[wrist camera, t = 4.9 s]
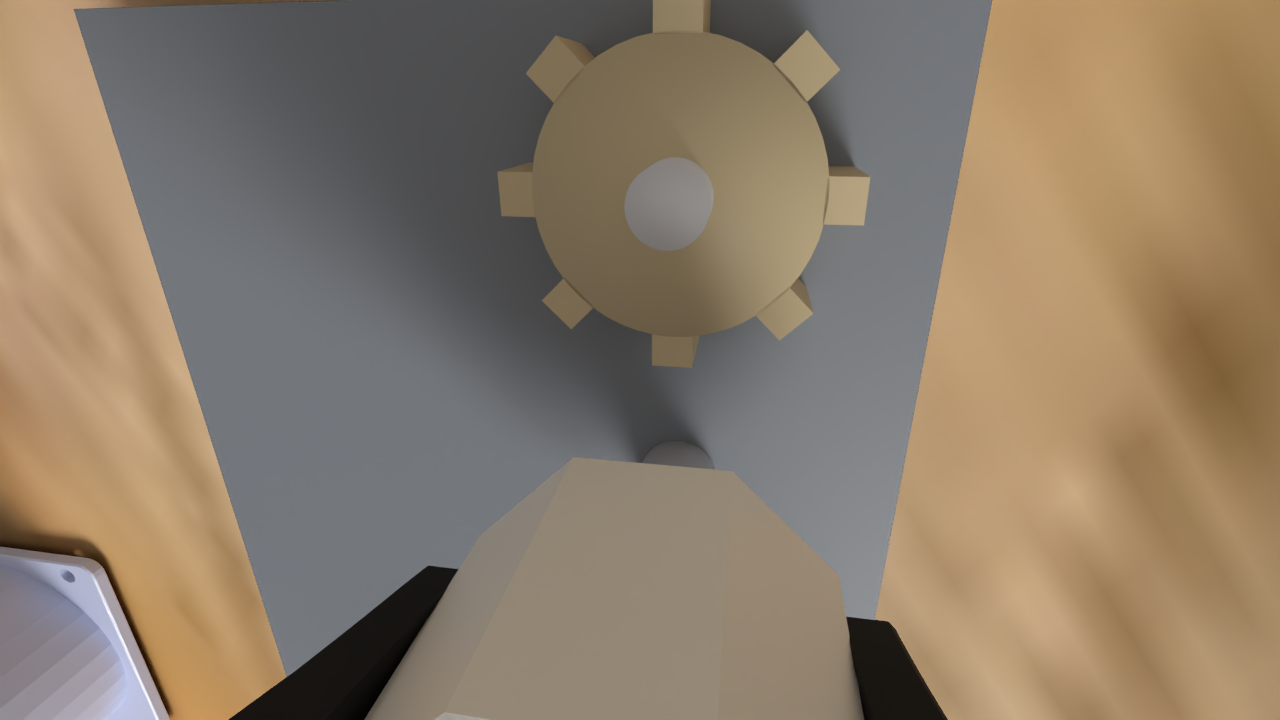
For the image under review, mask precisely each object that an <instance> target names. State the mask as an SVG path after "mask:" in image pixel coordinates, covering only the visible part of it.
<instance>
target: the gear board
mask: <svg viewBox="0 0 1280 720" xmlns="http://www.w3.org/2000/svg"><path fill="white" fill-rule="evenodd" d="M991 4H992V0H335V1H304V2H274V3H243V4H213V5H183V6H152V7H122V8H92V9H74V11H75V14H76V18H77V21H78V24H79V27H80V30H81V33H82V36H83V40H84V43H85V46H86V49H87V52H88V55H89V58H90V62H91V65H92V68H93V71H94V74H95V77H96V80H97V83H98V87H99V90H100V93H101V96H102V99H103V102H104V105H105V109H106V112H107V115H108V118H109V121H110V124H111V127H112V130H113V134H114V137H115V140H116V143H117V146H118V149H119V152H120V156H121V159H122V162H123V165H124V168H125V171H126V174H127V178H128V181H129V184H130V187H131V190H132V193H133V196H134V199H135V203H136V206H137V209H138V212H139V215H140V218H141V221H142V225H143V228H144V231H145V234H146V237H147V240H148V243H149V247H150V250H151V253H152V256H153V259H154V262H155V265H156V268H157V272H158V275H159V278H160V281H161V284H162V287H163V290H164V294H165V297H166V300H167V303H168V306H169V309H170V312H171V316H172V319H173V322H174V325H175V328H176V331H177V334H178V337H179V341H180V344H181V347H182V350H183V353H184V356H185V359H186V363H187V366H188V369H189V372H190V375H191V378H192V381H193V385H194V388H195V391H196V394H197V397H198V400H199V403H200V406H201V410H202V413H203V416H204V419H205V422H206V425H207V428H208V432H209V435H210V438H211V441H212V444H213V447H214V450H215V453H216V457H217V460H218V463H219V466H220V469H221V472H222V475H223V479H224V482H225V485H226V488H227V491H228V494H229V497H230V501H231V504H232V507H233V510H234V513H235V516H236V519H237V522H238V526H239V529H240V532H241V535H242V538H243V541H244V544H245V548H246V551H247V554H248V557H249V560H250V563H251V566H252V570H253V573H254V576H255V579H256V582H257V585H258V588H259V591H260V595H261V598H262V601H263V604H264V607H265V610H266V613H267V617H268V620H269V623H270V626H271V629H272V632H273V635H274V639H275V642H276V645H277V648H278V651H279V654H280V657H281V660H282V664H283V667H284V670H285V673H286V676H287V677H288V676H289V675H290V674H292V673H293V672H294V671H296V670H297V669H298V668H300V667H301V666H302V665H303V664H305V663H306V662H307V661H309V660H310V659H311V658H312V657H314V656H315V655H316V654H317V653H319V652H320V651H321V650H323V649H324V648H325V647H326V646H328V645H329V644H330V643H332V642H333V641H334V640H335V639H337V638H338V637H339V636H340V635H342V634H343V633H344V632H346V631H347V630H348V629H349V628H351V627H352V626H353V625H354V624H355V623H357V622H358V621H359V620H360V619H362V618H363V617H364V616H365V615H367V614H368V613H369V612H370V611H372V610H373V609H374V608H375V607H377V606H378V605H379V604H380V603H382V602H383V601H384V600H385V599H387V598H388V597H389V596H390V595H391V594H393V593H394V592H395V591H396V590H398V589H399V588H400V587H401V586H403V585H404V584H405V583H406V582H408V581H409V580H410V579H411V578H413V577H414V576H415V575H416V574H418V573H419V572H420V571H422V570H423V569H424V568H426V567H427V566H428V565H429V566H437V567H445V568H453V569H459V568H460V566H461V565H462V563H463V561H464V560H465V558H466V557H467V555H468V553H469V552H470V550H471V549H472V547H473V545H474V544H475V542H476V541H477V539H478V537H479V536H480V535H481V534H482V533H483V532H485V531H486V530H487V529H488V528H489V527H491V526H492V525H493V524H494V523H495V522H496V521H498V520H499V519H500V518H501V517H502V516H504V515H505V514H506V513H507V512H508V511H510V510H511V509H512V508H513V507H514V506H516V505H517V504H518V503H519V502H520V501H522V500H523V499H524V498H525V497H526V496H527V495H529V494H530V493H531V492H532V491H533V490H535V489H536V488H537V487H538V486H539V485H541V484H542V483H543V482H544V481H545V480H547V479H548V478H549V477H550V476H551V475H553V474H554V473H555V472H556V471H557V470H559V469H560V468H561V467H562V466H563V465H564V464H566V463H567V462H568V461H569V460H570V459H572V458H573V457H579V458H590V459H601V460H612V461H624V462H635V463H646V464H657V465H669V466H680V467H691V468H702V469H713V470H725V471H733V472H734V473H735V474H736V475H737V476H738V477H739V478H740V479H741V480H742V481H743V482H744V483H745V484H746V485H747V486H748V487H749V488H750V489H751V490H752V491H753V492H754V493H755V494H756V495H757V496H758V497H759V498H760V499H761V500H762V501H763V502H764V503H765V504H766V505H767V506H768V507H769V508H771V509H772V510H773V511H774V512H775V513H776V514H777V515H778V516H779V517H780V518H781V519H782V520H783V521H784V522H785V523H786V524H787V525H788V526H789V527H790V528H791V529H792V530H793V531H794V532H795V533H796V534H797V535H798V536H799V537H800V538H801V539H802V540H803V541H804V542H805V543H806V544H807V545H808V546H809V547H810V548H811V549H812V550H813V551H814V552H815V553H816V554H817V555H818V556H819V557H820V558H821V559H822V560H823V561H824V562H825V563H826V564H828V565H829V566H830V567H831V568H832V569H833V570H834V571H835V572H836V573H837V574H838V575H839V579H840V584H841V590H842V596H843V601H844V607H845V613H846V617H854V618H862V619H871V620H875V614H876V609H877V604H878V599H879V593H880V588H881V583H882V578H883V572H884V567H885V562H886V557H887V551H888V546H889V541H890V536H891V530H892V525H893V520H894V515H895V509H896V504H897V499H898V493H899V488H900V483H901V478H902V472H903V467H904V462H905V457H906V451H907V446H908V441H909V436H910V430H911V425H912V420H913V415H914V409H915V404H916V399H917V394H918V388H919V383H920V378H921V373H922V367H923V362H924V357H925V351H926V346H927V341H928V336H929V330H930V325H931V320H932V315H933V309H934V304H935V299H936V294H937V288H938V283H939V278H940V273H941V267H942V262H943V257H944V252H945V246H946V241H947V236H948V230H949V225H950V220H951V215H952V209H953V204H954V199H955V194H956V188H957V183H958V178H959V173H960V167H961V162H962V157H963V152H964V146H965V141H966V136H967V131H968V125H969V120H970V115H971V110H972V104H973V99H974V94H975V88H976V83H977V78H978V73H979V67H980V62H981V57H982V52H983V46H984V41H985V36H986V31H987V25H988V20H989V15H990V10H991Z"/></svg>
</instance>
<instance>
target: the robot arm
mask: <svg viewBox="0 0 1280 720" xmlns="http://www.w3.org/2000/svg"><path fill="white" fill-rule="evenodd" d="M457 571H458V569H453V568H445V567H437V566H429V565H428V566H427V567H426V568H424V569H423V570H422V571H420V572H419V573H418V574H416V575H415V576H414V577H413V578H411V579H410V580H409V581H408V582H406V583H405V584H404V585H403V586H401V587H400V588H399V589H398V590H396V591H395V592H394V593H393V594H391V595H390V596H389V597H388V598H387V599H385V600H384V601H383V602H382V603H380V604H379V605H378V606H377V607H375V608H374V609H373V610H372V611H370V612H369V613H368V614H367V615H365V616H364V617H363V618H362V619H360V620H359V621H358V622H357V623H355V624H354V625H353V626H352V627H351V628H349V629H348V630H347V631H346V632H344V633H343V634H342V635H340V636H339V637H338V638H337V639H335V640H334V641H333V642H332V643H330V644H329V645H328V646H326V647H325V648H324V649H323V650H321V651H320V652H319V653H317V654H316V655H315V656H314V657H312V658H311V659H310V660H309V661H307V662H306V663H305V664H303V665H302V666H301V667H300V668H298V669H297V670H296V671H294V672H293V673H292V674H290V675H289V676H288V677H286V678H285V679H284V680H282V681H281V682H280V683H278V684H277V685H275V686H274V687H273V688H271V689H270V690H269V691H267V692H266V693H264V694H263V695H262V696H260V697H259V698H258V699H256V700H255V701H253V702H252V703H251V704H249V705H248V706H247V707H245V708H244V709H243V710H241V711H240V712H238V713H237V714H236V715H234V716H233V717H232V718H230V719H229V720H364V719H365V718H366V716H367V715H368V713H369V712H370V710H371V708H372V707H373V705H374V704H375V702H376V700H377V699H378V697H379V696H380V694H381V692H382V691H383V689H384V688H385V686H386V684H387V683H388V681H389V680H390V678H391V676H392V675H393V673H394V672H395V670H396V668H397V667H398V665H399V664H400V662H401V660H402V659H403V657H404V656H405V654H406V652H407V651H408V649H409V648H410V646H411V644H412V643H413V641H414V640H415V638H416V636H417V635H418V633H419V632H420V630H421V628H422V627H423V625H424V624H425V622H426V620H427V619H428V618H429V616H430V615H431V613H432V612H433V610H434V608H435V607H436V605H437V604H438V602H439V600H440V599H441V597H442V596H443V594H444V592H445V591H446V589H447V588H448V585H449V584H450V582H451V581H452V579H453V577H454V576H455V574H456V573H457ZM846 619H847V624H848V630H849V636H850V638H849V641H850V646H851V652H852V658H853V664H854V669H855V674H856V678H857V682H858V687H859V693H860V699H861V704H862V710H863V716H864V720H948V719H947V718H946V716H945V714H944V713H943V711H942V709H941V708H940V706H939V705H938V703H937V701H936V700H935V698H934V696H933V695H932V693H931V691H930V690H929V688H928V686H927V685H926V683H925V681H924V679H923V678H922V676H921V674H920V673H919V671H918V669H917V667H916V666H915V664H914V662H913V660H912V659H911V657H910V655H909V653H908V651H907V650H906V648H905V646H904V644H903V642H902V641H901V639H900V637H899V635H898V633H897V631H896V630H895V628H894V627H893V626H892V625H891V624H890V623H889V622H887V621H879V620H871V619H862V618H854V617H846ZM0 720H170V718H169V716H168V713H167V711H166V709H165V707H164V704H163V702H162V700H161V697H160V695H159V693H158V691H157V688H156V686H155V684H154V681H153V679H152V677H151V675H150V672H149V670H148V668H147V665H146V663H145V661H144V659H143V656H142V654H141V652H140V649H139V647H138V645H137V643H136V640H135V638H134V636H133V634H132V631H131V629H130V627H129V624H128V622H127V620H126V618H125V615H124V613H123V611H122V608H121V606H120V604H119V602H118V599H117V597H116V595H115V592H114V590H113V588H112V586H111V583H110V581H109V579H108V576H107V574H106V572H105V570H104V568H103V567H102V566H101V565H100V564H99V563H98V562H96V561H95V560H93V559H90V558H84V557H76V556H69V555H61V554H53V553H46V552H38V551H30V550H23V549H15V548H8V547H0Z"/></svg>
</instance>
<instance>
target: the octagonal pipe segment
mask: <svg viewBox="0 0 1280 720" xmlns="http://www.w3.org/2000/svg"><path fill="white" fill-rule="evenodd" d="M849 638H850V636H849V630H848V624H847V619H846V613H845V607H844V601H843V596H842V590H841V584H840V579H839V575H838V574H837V573H836V572H835V571H834V570H833V569H832V568H831V567H830V566H829V565H828V564H826V563H825V562H824V561H823V560H822V559H821V558H820V557H819V556H818V555H817V554H816V553H815V552H814V551H813V550H812V549H811V548H810V547H809V546H808V545H807V544H806V543H805V542H804V541H803V540H802V539H801V538H800V537H799V536H798V535H797V534H796V533H795V532H794V531H793V530H792V529H791V528H790V527H789V526H788V525H787V524H786V523H785V522H784V521H783V520H782V519H781V518H780V517H779V516H778V515H777V514H776V513H775V512H774V511H773V510H772V509H771V508H769V507H768V506H767V505H766V504H765V503H764V502H763V501H762V500H761V499H760V498H759V497H758V496H757V495H756V494H755V493H754V492H753V491H752V490H751V489H750V488H749V487H748V486H747V485H746V484H745V483H744V482H743V481H742V480H741V479H740V478H739V477H738V476H737V475H736V474H735V473H734V472H733V471H725V470H713V469H702V468H691V467H680V466H669V465H657V464H646V463H635V462H624V461H612V460H601V459H590V458H579V457H573V458H572V459H570V460H569V461H568V462H567V463H566V464H564V465H563V466H562V467H561V468H560V469H559V470H557V471H556V472H555V473H554V474H553V475H551V476H550V477H549V478H548V479H547V480H545V481H544V482H543V483H542V484H541V485H539V486H538V487H537V488H536V489H535V490H533V491H532V492H531V493H530V494H529V495H527V496H526V497H525V498H524V499H523V500H522V501H520V502H519V503H518V504H517V505H516V506H514V507H513V508H512V509H511V510H510V511H508V512H507V513H506V514H505V515H504V516H502V517H501V518H500V519H499V520H498V521H496V522H495V523H494V524H493V525H492V526H491V527H489V528H488V529H487V530H486V531H485V532H483V533H482V534H481V535H480V536H479V537H478V539H477V541H476V542H475V544H474V545H473V547H472V549H471V550H470V552H469V553H468V555H467V557H466V558H465V560H464V561H463V563H462V565H461V566H460V568H459V569H458V571H457V573H456V574H455V576H454V577H453V579H452V581H451V582H450V584H449V585H448V588H447V589H446V591H445V592H444V594H443V596H442V597H441V599H440V600H439V602H438V604H437V605H436V607H435V608H434V610H433V612H432V613H431V615H430V616H429V618H428V619H427V620H426V622H425V624H424V625H423V627H422V628H421V630H420V632H419V633H418V635H417V636H416V638H415V640H414V641H413V643H412V644H411V646H410V648H409V649H408V651H407V652H406V654H405V656H404V657H403V659H402V660H401V662H400V664H399V665H398V667H397V668H396V670H395V672H394V673H393V675H392V676H391V678H390V680H389V681H388V683H387V684H386V686H385V688H384V689H383V691H382V692H381V694H380V696H379V697H378V699H377V700H376V702H375V704H374V705H373V707H372V708H371V710H370V712H369V713H368V715H367V716H366V718H365V719H364V720H864V716H863V710H862V704H861V699H860V693H859V687H858V682H857V678H856V674H855V669H854V664H853V658H852V652H851V646H850V641H849Z"/></svg>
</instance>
